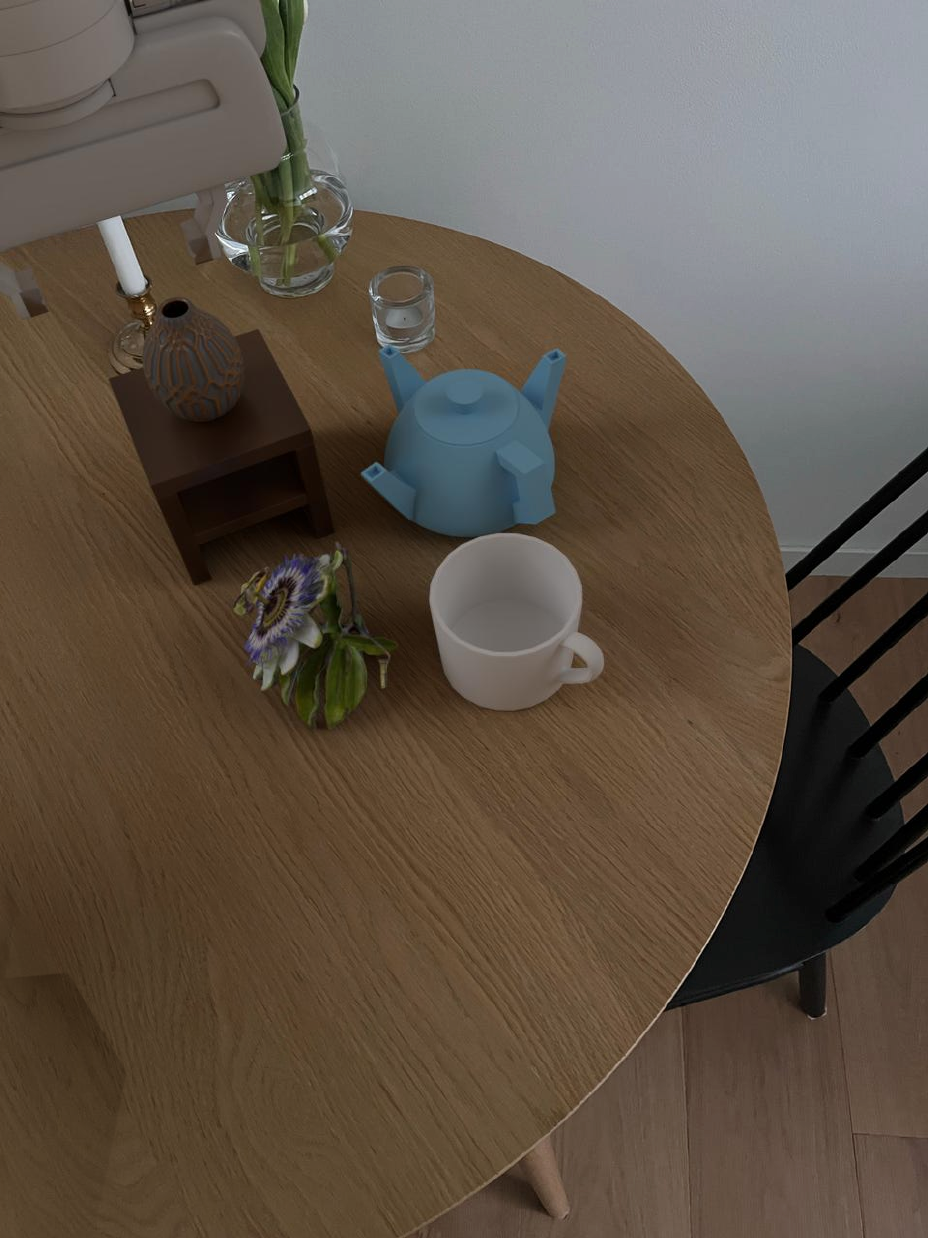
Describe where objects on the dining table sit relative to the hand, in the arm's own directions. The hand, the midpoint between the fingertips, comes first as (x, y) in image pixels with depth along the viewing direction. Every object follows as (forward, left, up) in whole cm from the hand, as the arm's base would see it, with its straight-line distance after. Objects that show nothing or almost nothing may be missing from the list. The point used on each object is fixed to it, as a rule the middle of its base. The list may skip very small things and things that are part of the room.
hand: (120, 282), depth 57 cm
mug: (+17, -14, -31) cm, 38 cm away
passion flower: (+4, -7, -31) cm, 32 cm away
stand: (+3, +10, -31) cm, 33 cm away
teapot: (+21, +4, -31) cm, 38 cm away
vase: (+3, +10, -19) cm, 22 cm away
